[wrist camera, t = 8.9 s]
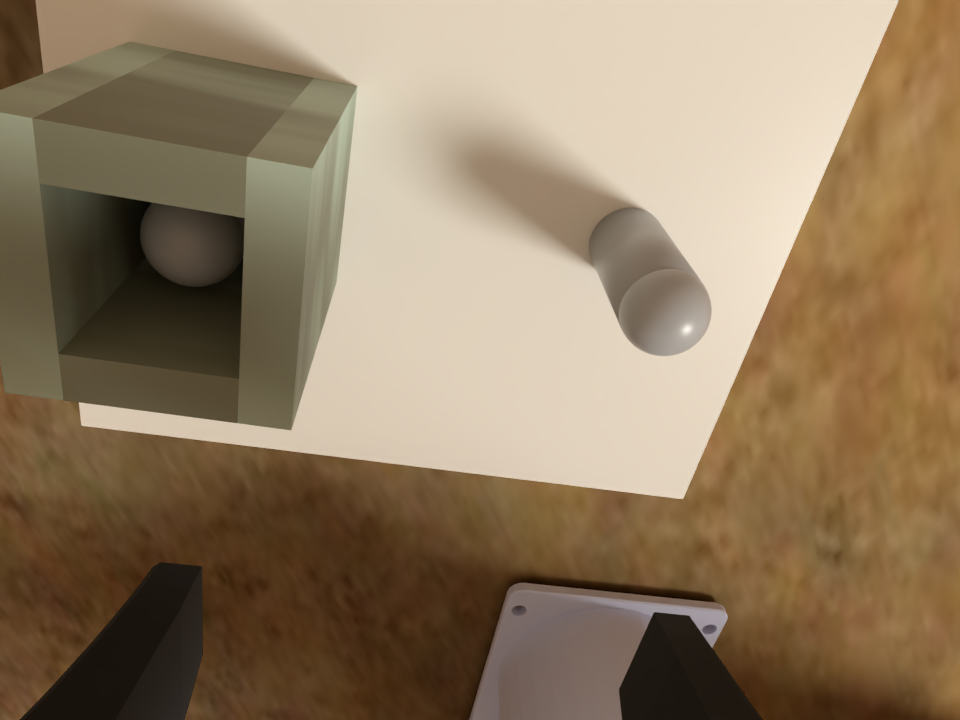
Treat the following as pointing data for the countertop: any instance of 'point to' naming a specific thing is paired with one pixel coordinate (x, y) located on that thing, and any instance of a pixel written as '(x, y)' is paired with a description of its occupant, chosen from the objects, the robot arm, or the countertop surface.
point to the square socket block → (176, 182)
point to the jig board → (524, 215)
